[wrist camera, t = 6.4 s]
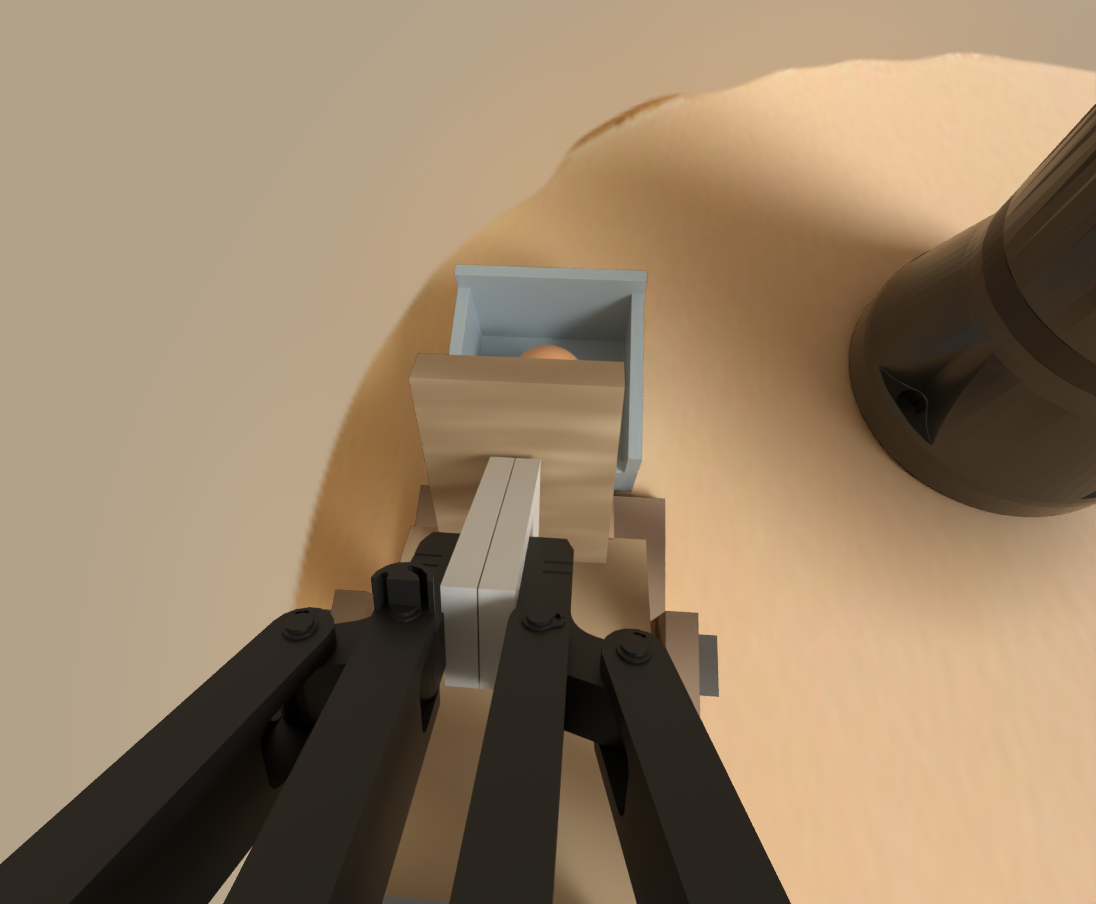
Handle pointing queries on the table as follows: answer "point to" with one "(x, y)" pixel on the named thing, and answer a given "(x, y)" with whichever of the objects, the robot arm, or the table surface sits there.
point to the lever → (596, 604)
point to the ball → (548, 353)
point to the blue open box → (560, 328)
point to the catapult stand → (672, 628)
